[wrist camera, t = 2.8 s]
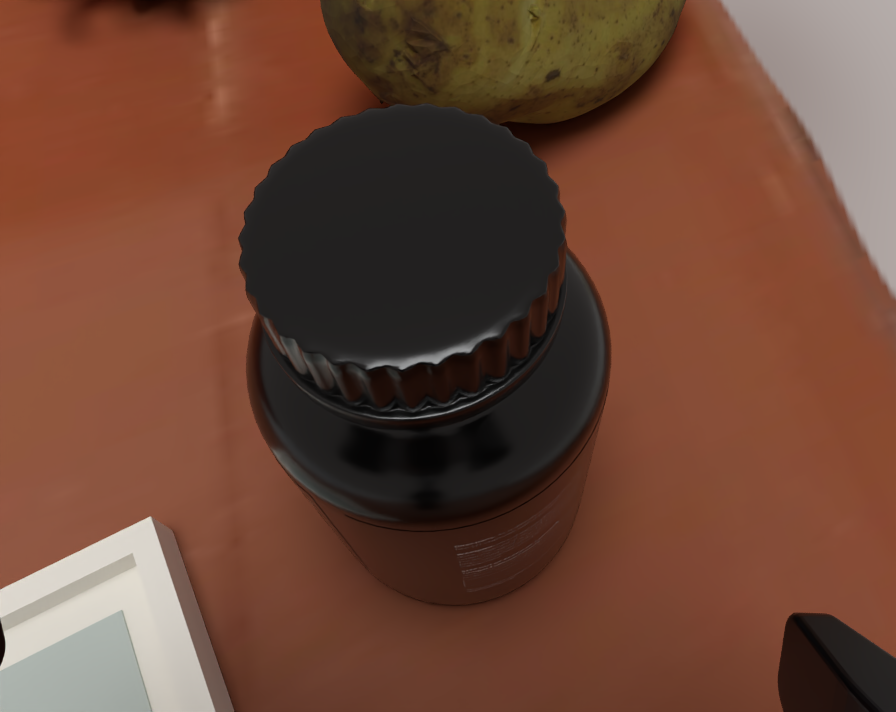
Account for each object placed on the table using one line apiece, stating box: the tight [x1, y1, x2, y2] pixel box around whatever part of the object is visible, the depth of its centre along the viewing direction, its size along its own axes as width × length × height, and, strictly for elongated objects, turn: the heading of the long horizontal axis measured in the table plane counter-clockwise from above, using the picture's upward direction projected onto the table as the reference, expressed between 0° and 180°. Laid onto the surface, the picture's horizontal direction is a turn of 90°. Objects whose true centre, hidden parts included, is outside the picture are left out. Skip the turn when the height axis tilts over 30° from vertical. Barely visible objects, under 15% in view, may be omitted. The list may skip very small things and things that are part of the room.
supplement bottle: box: [238, 103, 611, 605], centre depth 16 cm, size 7×7×12 cm
